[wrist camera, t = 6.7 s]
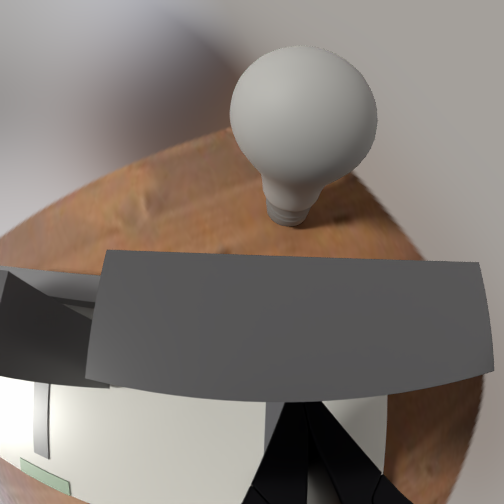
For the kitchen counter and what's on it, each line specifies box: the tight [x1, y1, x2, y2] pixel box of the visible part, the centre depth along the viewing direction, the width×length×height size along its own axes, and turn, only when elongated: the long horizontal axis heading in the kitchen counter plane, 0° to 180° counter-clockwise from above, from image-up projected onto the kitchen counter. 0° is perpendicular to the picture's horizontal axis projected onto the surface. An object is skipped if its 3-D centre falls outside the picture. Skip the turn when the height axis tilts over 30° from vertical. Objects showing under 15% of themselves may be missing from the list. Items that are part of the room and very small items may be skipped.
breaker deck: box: [0, 266, 387, 504], centre depth 12 cm, size 13×24×3 cm, turn 88°
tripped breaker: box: [85, 250, 494, 402], centre depth 9 cm, size 3×10×8 cm, turn 88°
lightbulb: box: [230, 46, 377, 226], centre depth 13 cm, size 6×6×11 cm
